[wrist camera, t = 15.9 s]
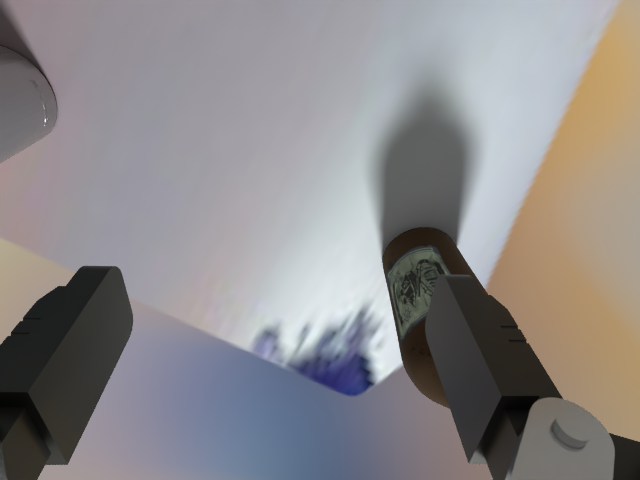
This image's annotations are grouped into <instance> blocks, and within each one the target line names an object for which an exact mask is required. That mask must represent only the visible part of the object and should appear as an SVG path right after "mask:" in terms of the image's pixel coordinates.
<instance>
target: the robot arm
mask: <svg viewBox="0 0 640 480" xmlns="http://www.w3.org/2000/svg"><path fill="white" fill-rule="evenodd" d="M56 119H57V105H56V100H55V96H54V94H53V91H52V89H51V87H50V85H49V84H48V82H47V80H46V79H45V77H44V76H43V75H42V74H41V73H40V71H39V70H38V69H37V68H36V67H35V66H34V65H33V64H32V63H30V62H29V61H28V60H27V59H26V58H24V57H23V56H21V55H20V54H18V53H16V52H15V51H12V50H10V49H8V48H6V47H3V46H0V163H2V162H3V161H5V160H7V159H8V158H10V157H12V156H13V155H15V154H17V153H18V152H20V151H22V150H24V149H25V148H27V147H29V146H30V145H32V144H34V143H35V142H37V141H39V140H40V139H42V138H43V137H45V136H46V135H47V134H48V133H50V131H51V130H52V128H53V127H54V125H55V122H56ZM132 325H133V314H132V309H131V305H130V302H129V298H128V295H127V291H126V287H125V284H124V280H123V276H122V273H121V271H120V269H119V268H118V267H116V266H83V267H81V268H80V269H79V270H78V271H77V272H76V274H75V275H74V276H73V277H72V279H71V280H70V281H69V283H68V284H67V285H66V286H58V287H57V288H55V289H54V290H52V291H51V292H49V293H48V294H46V295H45V296H43V297H42V298H40V299H39V300H38V301H37V302H36V303H35V304H34V305H33V306H32V308H31V309H30V310H29V311H28V312H27V314H26V315H25V316H24V317H23V321H20V322H19V323H18V325H17V326H16V327H15V328H14V329H13V331H12V332H11V336H8V337H7V338H6V339H5V340H4V341H3V343H2V344H1V345H0V480H37V479H38V477H39V475H40V473H41V471H42V470H43V468H44V466H45V465H67V464H68V463H69V461H70V458H71V456H72V454H73V452H74V450H75V448H76V446H77V444H78V442H79V440H80V438H81V436H82V434H83V432H84V430H85V428H86V426H87V424H88V421H89V419H90V417H91V415H92V413H93V411H94V409H95V407H96V405H97V403H98V401H99V399H100V397H101V395H102V393H103V391H104V388H105V386H106V384H107V382H108V380H109V378H110V376H111V374H112V372H113V370H114V368H115V366H116V364H117V362H118V360H119V358H120V356H121V354H122V351H123V349H124V347H125V345H126V343H127V341H128V339H129V337H130V335H131V331H132ZM425 332H426V339H427V343H428V346H429V348H430V351H431V354H432V357H433V360H434V363H435V366H436V369H437V372H438V375H439V378H440V381H441V384H442V386H443V389H444V392H445V395H446V398H447V401H448V404H449V407H450V410H451V412H452V415H453V418H454V421H455V424H456V427H457V430H458V433H459V436H460V439H461V442H462V445H463V448H464V451H465V454H466V457H467V459H468V463H469V464H488V467H489V470H490V472H491V475H492V478H491V480H640V442H638V441H634V440H630V439H627V438H624V437H620V436H617V435H614V434H611V433H608V432H607V430H606V429H605V427H604V426H603V425H602V424H601V422H600V421H598V420H597V419H596V417H594V416H593V415H592V414H591V413H590V412H588V411H587V410H585V409H584V408H582V407H580V406H579V405H577V404H575V403H572V402H570V401H567V400H564V399H563V398H562V396H561V395H560V393H559V392H558V390H557V388H556V387H555V385H554V384H553V382H552V380H551V379H550V377H549V375H548V374H547V372H546V371H545V369H544V367H543V366H542V364H541V363H540V361H539V359H538V358H537V356H536V355H535V353H534V351H533V350H532V348H531V347H530V345H529V344H528V343H526V339H525V337H524V335H523V334H522V332H521V330H519V329H518V326H517V324H516V322H515V321H514V319H513V317H512V316H511V314H510V313H509V311H508V310H507V309H506V308H505V307H504V306H503V305H502V304H501V303H499V302H498V301H497V300H496V299H495V298H494V297H492V296H491V295H482V293H481V291H480V289H479V288H478V286H477V284H476V282H475V281H474V279H473V277H472V276H470V275H446V274H441V275H439V276H438V278H437V280H436V283H435V287H434V290H433V294H432V298H431V301H430V305H429V309H428V313H427V316H426V322H425Z"/></svg>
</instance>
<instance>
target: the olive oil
mask: <svg viewBox="0 0 640 480" xmlns="http://www.w3.org/2000/svg"><path fill="white" fill-rule="evenodd" d="M383 269H384V274H385V278H386V282H387V287H388V291H389V296H390V300H391V305H392V310H393V315H394V320H395V326H396V331H397V336H398V341H399V347H400V352H401V357H402V361H403V365H404V367H405V370H406V372H407V374H408V375H409V377H410V379H411V380H412V382H413V383H414V385H415V386H416V387H417V388H418V390H419V391H420V392H421V393H422V394H424V395H425V396H426V397H428V398H429V399H431V400H432V401H434V402H436V403H438V404H441V405H443V406H445V407H447V408H450V407H449V404H448V401H447V398H446V395H445V392H444V389H443V386H442V384H441V381H440V378H439V375H438V372H437V369H436V366H435V363H434V360H433V357H432V354H431V351H430V348H429V346H428V343H427V339H426V332H425V322H426V316H427V313H428V309H429V305H430V301H431V298H432V294H433V290H434V287H435V283H436V280H437V278H438V276H439V275H441V274H446V275H470V276H472V277H473V279H474V281H475V282H476V284H477V286H478V288H479V289H480V291H481V293H482V295H488V294H487V292H486V291H485V289H484V288H483V286H482V285H481V283H480V282H479V280H478V279H477V277H476V276H475V274H474V273H473V271H472V270H471V268H470V267H469V265H468V264H467V262H466V261H465V259H464V258H463V256H462V254H461V253H460V251H459V250H458V248H457V247H456V245H455V243H454V242H453V240H452V239H451V238H450V237H449V236H448V235H447V234H445V233H444V232H442V231H440V230H437V229H433V228H417V229H412V230H409V231H407V232H405V233H403V234H401V235H399V236H398V237H396V238H395V239H394V240H393V241H392V242H391V243H390V244H389V246H388V247H387V249H386V251H385V253H384V256H383Z"/></svg>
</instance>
